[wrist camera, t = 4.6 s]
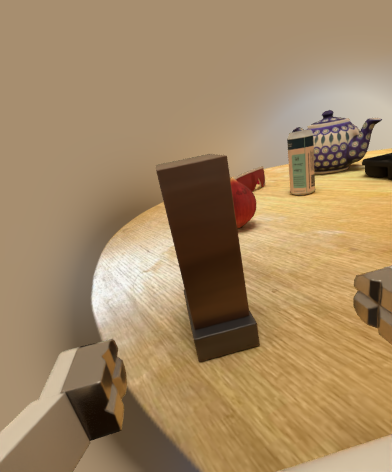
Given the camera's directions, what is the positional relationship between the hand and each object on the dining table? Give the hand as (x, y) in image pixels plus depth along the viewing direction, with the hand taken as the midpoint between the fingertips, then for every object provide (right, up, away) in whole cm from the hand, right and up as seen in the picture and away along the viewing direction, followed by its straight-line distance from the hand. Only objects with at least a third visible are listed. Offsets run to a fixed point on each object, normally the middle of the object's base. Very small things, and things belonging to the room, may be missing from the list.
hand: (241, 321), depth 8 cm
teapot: (+35, +21, +61) cm, 73 cm away
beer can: (+21, +12, +44) cm, 50 cm away
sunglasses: (+9, +15, +61) cm, 63 cm away
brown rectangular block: (0, -4, +12) cm, 13 cm away
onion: (+6, +4, +32) cm, 33 cm away
